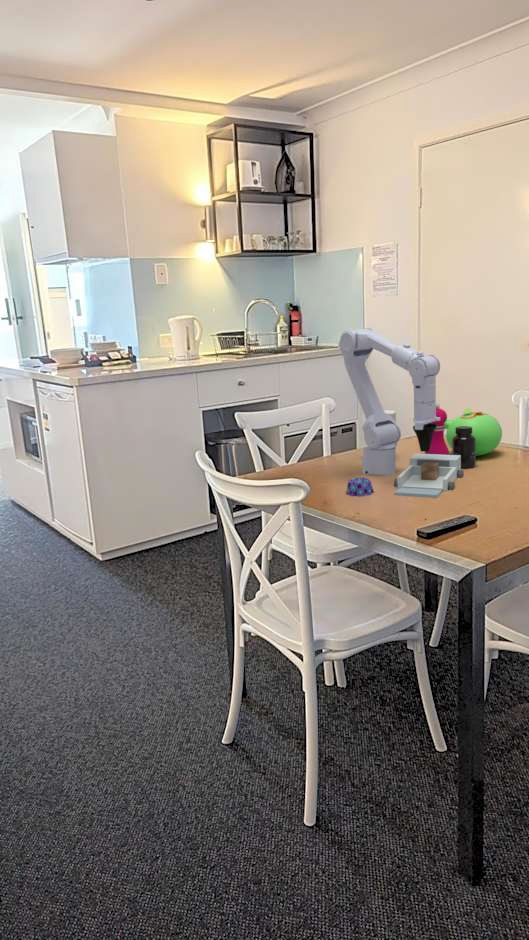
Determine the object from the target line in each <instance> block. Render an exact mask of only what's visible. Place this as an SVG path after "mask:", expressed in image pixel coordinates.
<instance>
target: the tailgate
mask: <svg viewBox="0 0 529 940" xmlns="http://www.w3.org/2000/svg"><path fill="white" fill-rule="evenodd" d="M443 492H444V491H443V490H438V489H421V488H405V487H399V488H397V490H395V491H394V495H393V496H404V497H418V498H419V497H420V498H434V499H437V498H438V497H439V496H440V495H441V494H442V493H443Z"/></svg>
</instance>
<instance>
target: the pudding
mask: <svg viewBox="0 0 529 940" xmlns="http://www.w3.org/2000/svg"><path fill="white" fill-rule="evenodd" d="M373 487H374V486H373V483H372V481H371V480H370V479H369V478H367V477H365V478H364V477H354V478H351V479H349V480H348V482H347V486H346V491H345V495H346V496H350V497H359V498H360V497H362V498H363V497H365V496H371V495H372V494H374V493H375V491H374V489H373Z"/></svg>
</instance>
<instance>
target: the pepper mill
mask: <svg viewBox="0 0 529 940" xmlns="http://www.w3.org/2000/svg"><path fill="white" fill-rule="evenodd" d="M440 407H441V405H440V403H437V402H436V417H440V421H434V422H431V423H430V424H437V427H436V429H435V431H434V434H433V437H432V442H431V447H430V450H429V451H428V452H425V451H424V454H440V455H450V451H449V448H448V446H447V444H446V442H445V441H446V440H445V438H444V434H445V433H444V432H445V431H446V428H445V424H444V423H445V422H446V420H448V413H447V412H446V410H444V409H442V408H440Z"/></svg>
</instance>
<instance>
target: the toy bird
mask: <svg viewBox="0 0 529 940" xmlns="http://www.w3.org/2000/svg"><path fill="white" fill-rule="evenodd" d="M444 424H445V430H446V434H445V435H446V441H447V444H448V445H449V447H450V448H451V449H452V439H453V437H454V436H456V434H455V432H456V427H459V426H470V427H472V436H474V437H475V439H476V457H479V456H483V455H484V456H485V455H486V454H489V453H491V452H492V451H494V450H495V449H496V448H497V447H498V446H499V445H500V443H501V441H502V437H503V431H502V430H503V429H502V426H501V424H500V422H499V421H498V420H497V418H496V417H493V416H492V415H490V414H488V413H484V412H482V410H481V411H479V410H477V411H471V409H470V408H469V407H468V408H465V409H464V411H463V413H462V414H461V415H459V416H457V417H456V418H454V419H447V420H446V422H445V423H444Z"/></svg>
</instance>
